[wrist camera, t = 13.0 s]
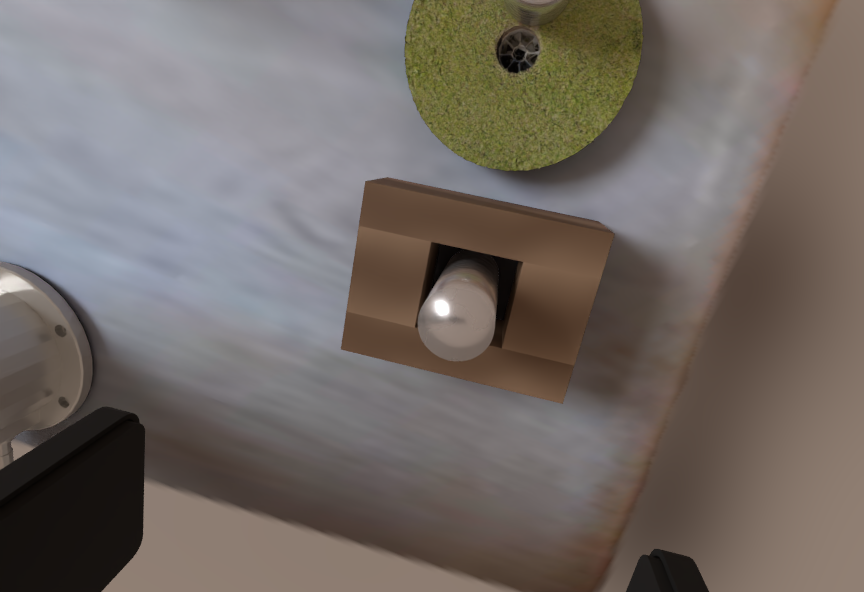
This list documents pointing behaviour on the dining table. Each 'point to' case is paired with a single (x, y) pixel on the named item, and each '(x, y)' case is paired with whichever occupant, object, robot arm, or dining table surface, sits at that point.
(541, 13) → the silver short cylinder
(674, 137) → the dining table surface
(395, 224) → the hole block
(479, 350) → the long pin
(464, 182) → the dining table surface
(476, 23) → the mat
